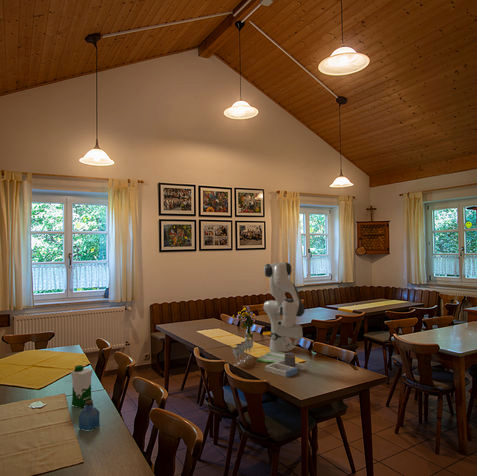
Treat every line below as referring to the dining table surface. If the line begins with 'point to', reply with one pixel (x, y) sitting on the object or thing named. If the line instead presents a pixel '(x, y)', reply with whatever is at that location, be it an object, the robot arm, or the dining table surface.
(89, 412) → the perfume bottle
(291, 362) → the cord plug
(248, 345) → the goblet set
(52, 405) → the dining table surface
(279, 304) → the robot arm
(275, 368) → the white tray
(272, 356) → the dish towel
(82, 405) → the milk carton
